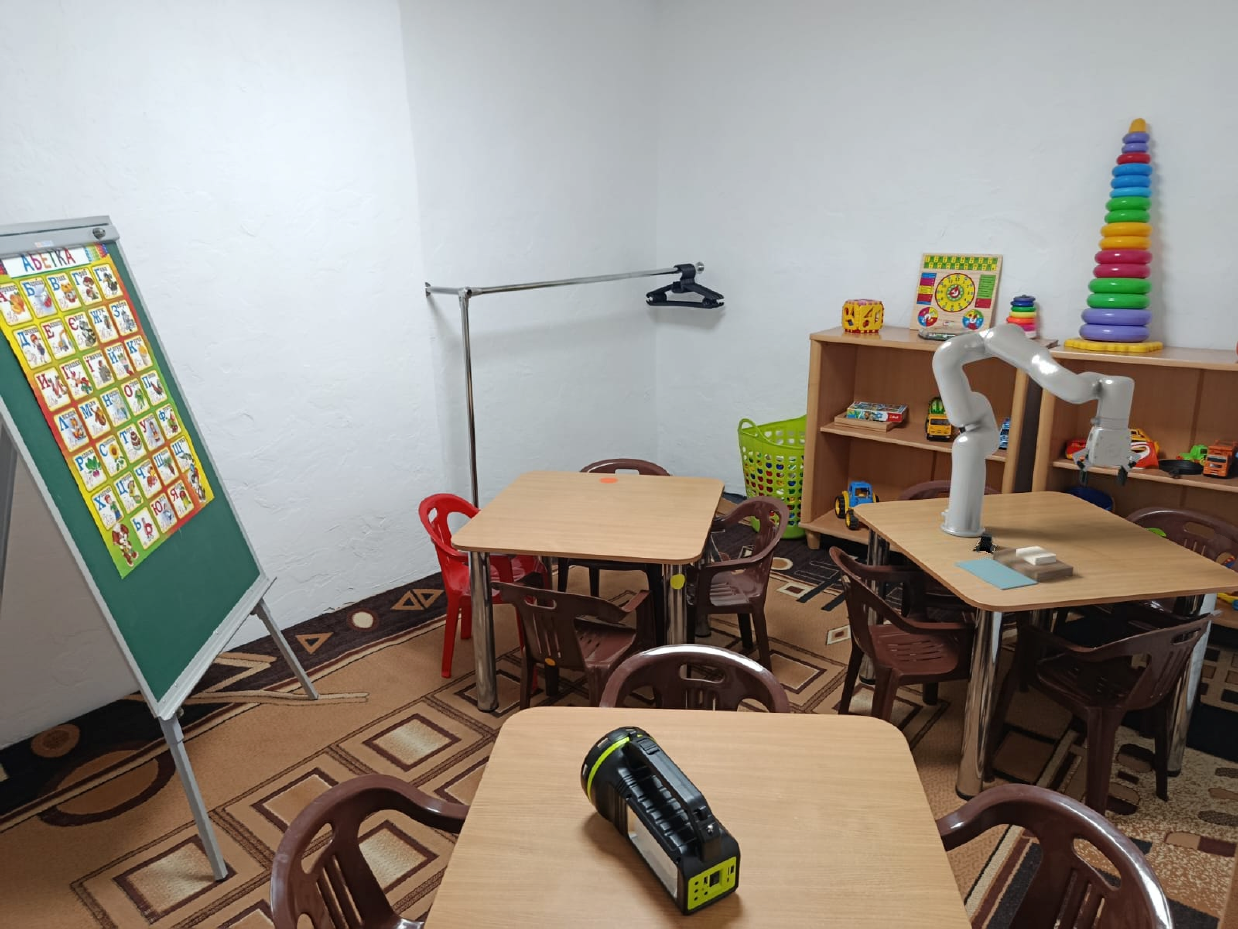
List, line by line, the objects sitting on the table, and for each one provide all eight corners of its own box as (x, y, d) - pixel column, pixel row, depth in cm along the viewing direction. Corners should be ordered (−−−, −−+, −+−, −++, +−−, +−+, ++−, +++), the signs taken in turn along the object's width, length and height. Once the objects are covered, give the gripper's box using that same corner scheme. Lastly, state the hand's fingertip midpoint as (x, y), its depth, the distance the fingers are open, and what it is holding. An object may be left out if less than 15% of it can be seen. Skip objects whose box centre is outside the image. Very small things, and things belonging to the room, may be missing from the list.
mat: (954, 564, 231) (955, 563, 230) (989, 558, 234) (989, 557, 234) (1001, 589, 214) (1002, 588, 214) (1038, 583, 217) (1038, 582, 217)
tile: (1015, 555, 229) (1016, 549, 229) (1036, 552, 231) (1036, 545, 231) (1034, 565, 223) (1035, 558, 222) (1055, 561, 225) (1056, 555, 224)
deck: (992, 559, 233) (993, 551, 232) (1027, 554, 237) (1028, 546, 236) (1036, 582, 218) (1037, 573, 218) (1072, 575, 222) (1073, 567, 221)
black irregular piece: (975, 540, 249) (977, 526, 248) (1002, 544, 245) (1004, 530, 244) (969, 554, 239) (971, 539, 238) (996, 558, 235) (998, 544, 234)
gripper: (1084, 426, 217) (1075, 488, 222) (1153, 426, 216) (1142, 488, 221) (1071, 419, 224) (1062, 479, 229) (1138, 419, 223) (1128, 480, 228)
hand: (1102, 484), depth 225 cm, fingers open, 9 cm apart
